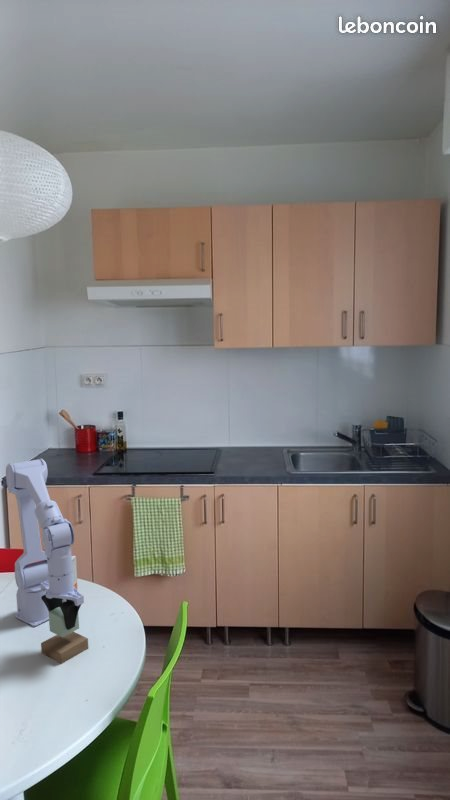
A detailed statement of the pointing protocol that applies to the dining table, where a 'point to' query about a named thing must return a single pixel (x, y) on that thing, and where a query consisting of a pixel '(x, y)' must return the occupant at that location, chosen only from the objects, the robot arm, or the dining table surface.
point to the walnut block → (64, 646)
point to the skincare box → (73, 574)
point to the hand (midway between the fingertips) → (63, 624)
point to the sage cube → (60, 623)
